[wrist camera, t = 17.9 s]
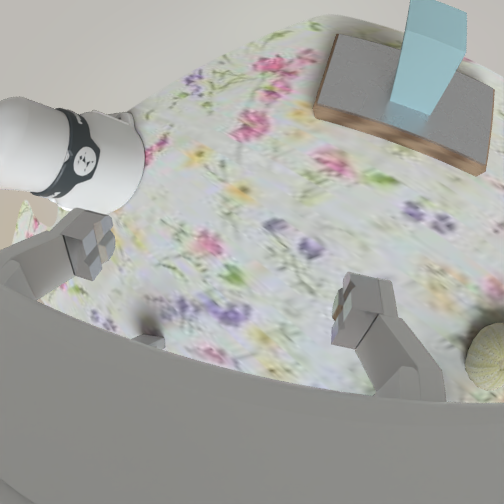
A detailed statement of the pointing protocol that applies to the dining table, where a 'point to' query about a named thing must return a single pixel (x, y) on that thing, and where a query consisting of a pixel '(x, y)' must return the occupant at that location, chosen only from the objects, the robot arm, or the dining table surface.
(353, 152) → the dining table surface
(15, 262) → the robot arm
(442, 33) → the teal block
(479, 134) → the plinth
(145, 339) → the lighter
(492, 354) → the sea urchin shell
